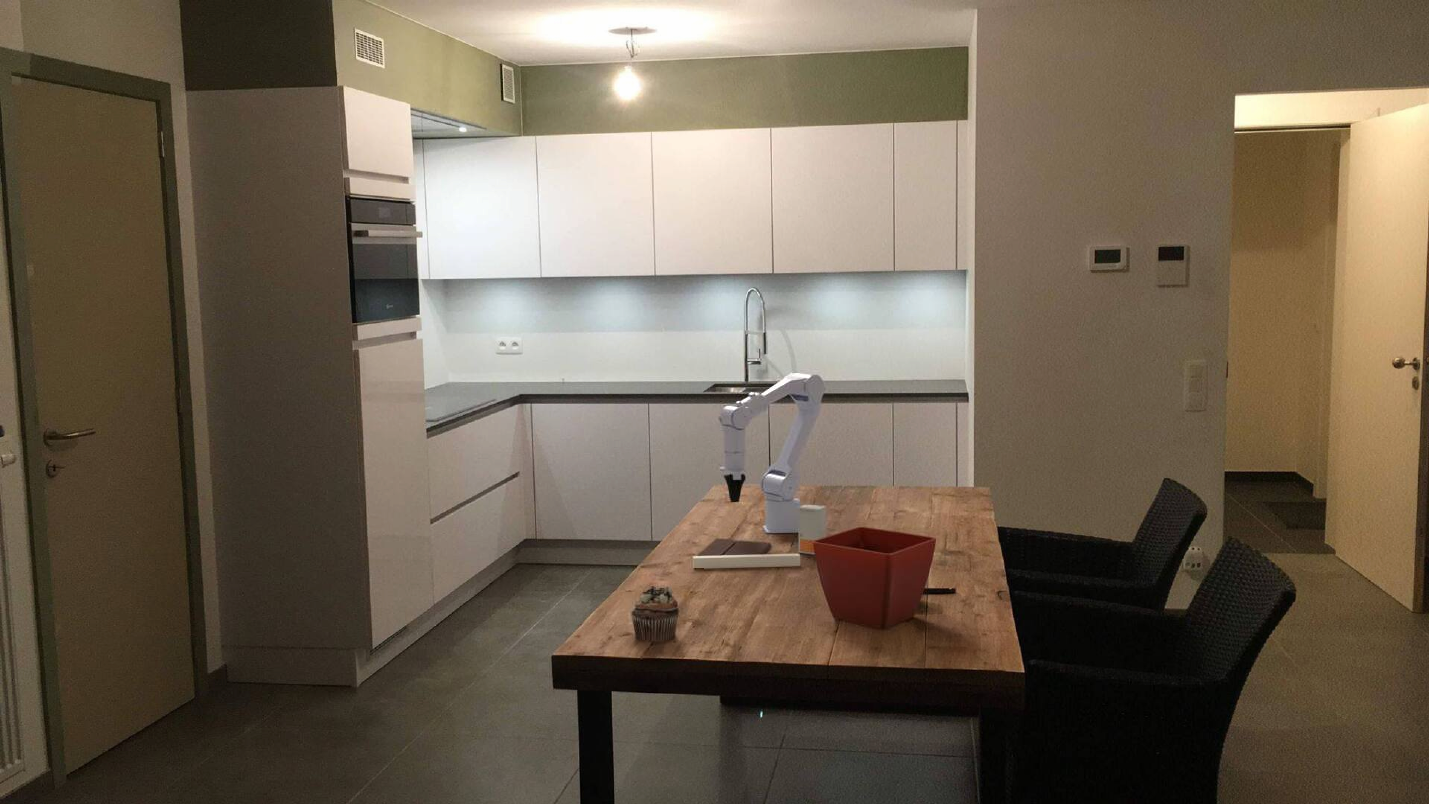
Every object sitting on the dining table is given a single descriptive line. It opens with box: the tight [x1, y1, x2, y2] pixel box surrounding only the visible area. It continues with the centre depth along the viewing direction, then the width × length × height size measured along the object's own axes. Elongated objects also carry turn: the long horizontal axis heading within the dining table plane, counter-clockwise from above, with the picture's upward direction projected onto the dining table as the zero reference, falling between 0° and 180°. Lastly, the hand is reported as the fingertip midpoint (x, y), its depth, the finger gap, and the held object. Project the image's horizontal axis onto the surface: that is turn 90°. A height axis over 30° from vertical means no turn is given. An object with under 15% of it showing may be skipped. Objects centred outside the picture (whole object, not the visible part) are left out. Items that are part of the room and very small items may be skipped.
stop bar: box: [692, 553, 801, 569], centre depth 303 cm, size 26×2×3 cm, turn 95°
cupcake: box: [630, 585, 680, 643], centre depth 249 cm, size 10×10×10 cm
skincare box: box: [797, 504, 827, 556], centre depth 316 cm, size 6×4×12 cm
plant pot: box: [813, 526, 937, 630], centre depth 260 cm, size 19×19×17 cm
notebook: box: [696, 538, 772, 556], centre depth 316 cm, size 15×20×2 cm
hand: (734, 501), depth 332 cm, fingers closed
